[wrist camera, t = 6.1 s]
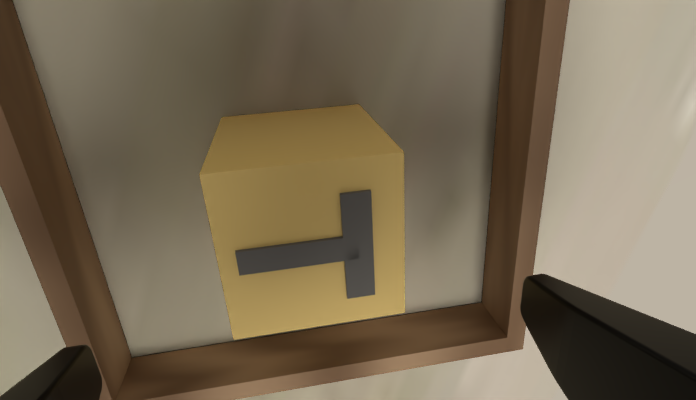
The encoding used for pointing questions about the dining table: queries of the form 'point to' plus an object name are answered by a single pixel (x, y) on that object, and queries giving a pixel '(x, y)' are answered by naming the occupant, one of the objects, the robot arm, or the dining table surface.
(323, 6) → the dining table surface
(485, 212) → the dining table surface
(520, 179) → the walnut tray
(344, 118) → the letter block
